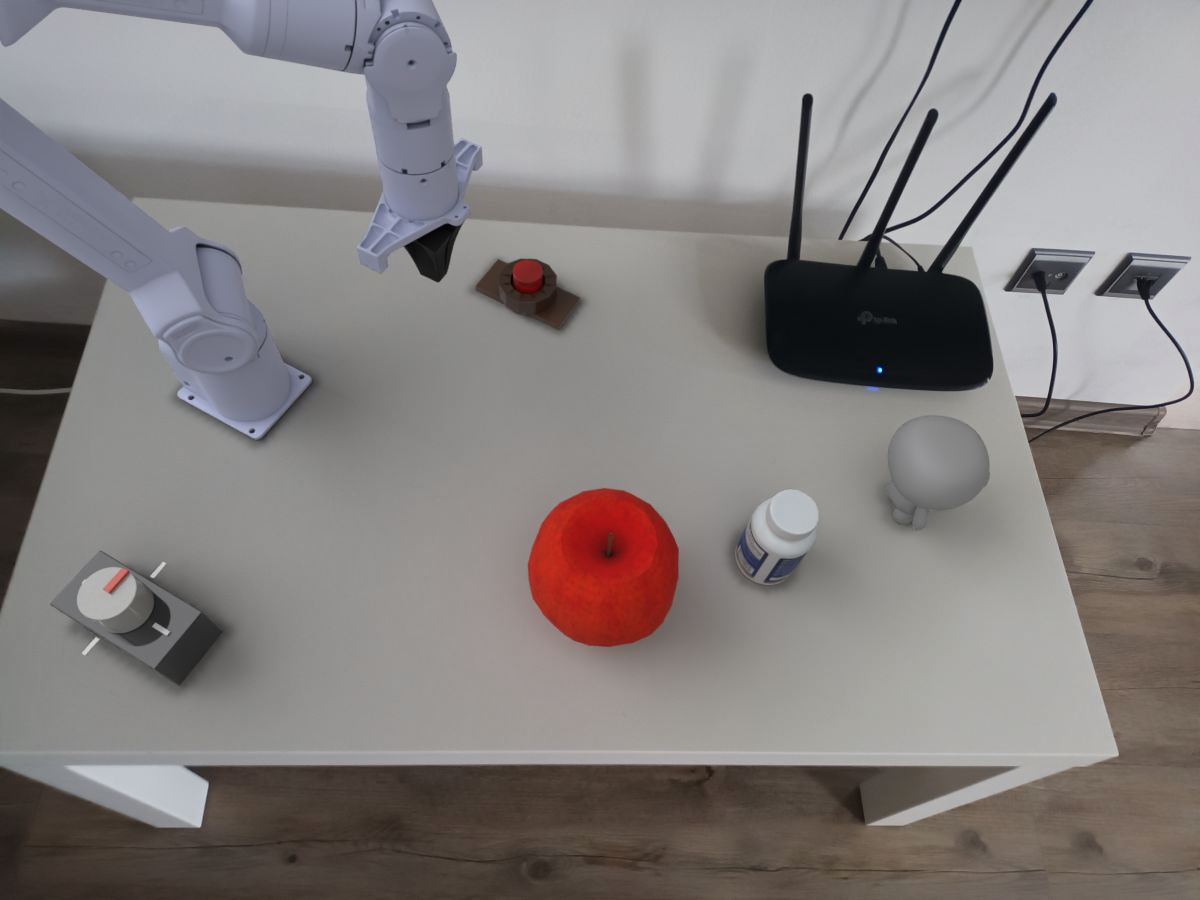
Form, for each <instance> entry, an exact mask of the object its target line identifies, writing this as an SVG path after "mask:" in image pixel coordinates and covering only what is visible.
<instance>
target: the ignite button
mask: <svg viewBox="0 0 1200 900" xmlns="http://www.w3.org/2000/svg"><path fill="white" fill-rule="evenodd" d="M542 282H543V270H542V267H541V266H540V265H539V264H538V263H537V262H535V261H532V260H523V261H520V262H518V263H517V264H516V265H515V266H514V268H513V285H514V287H515V288H516V289H517V290H518V291H519V292H521V293H525V294H531V293H535V292H537V291H538V290H539V289H540V288H541V287H542Z"/></svg>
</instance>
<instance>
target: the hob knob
mask: <svg viewBox="0 0 1200 900" xmlns="http://www.w3.org/2000/svg"><path fill="white" fill-rule="evenodd" d="M77 605H78V608H79V610H80V612H81V613H82V614H83V615H84V616H85V617H87V618H88V619H90V620H91V621H93V622H94V623H96V624H97V625H99V626H100V627H102V628H103V629H105V630H106V631H108V632H111V633H126V632H130V631H132V630H134V629H136V628H138V627H139V626H141V625H142V624H143V623H144V622H145V621H146V620H147V619H148V618H149V616H150V614H151V612H152V610H153V607H154V596H153V594H152V591H151V590H150V589H149V588H148V587H147V586H146V585H145V584H144V583H143V582H141V581H140V580H139V579H138V578H137V577H136V576H134V575H133V574H132V573H131V572H130V571H128V570H126V569H125V568H123V567H122V568H120V567H108V568H104V569H101V570H99V571H97V572H95V573H93V574H92V575H91V576H89V577H88V578H87V579H86V580H85V581H84V583H83V584H82V585H81V587H80V589H79V591H78V595H77Z"/></svg>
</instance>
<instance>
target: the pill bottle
mask: <svg viewBox="0 0 1200 900" xmlns="http://www.w3.org/2000/svg"><path fill="white" fill-rule="evenodd" d="M819 521H820V511H819V507H818V505H817V503H816V501H815V500H814V499H813V498H812V496H810V495H809V494H808V493H806V492H803V491H801V490H799V489H791V488H789V489H783V490H781V491H779V492H777V493H776V494H775V495H774V496H773V497H770V498H767V499H766V500H764V501H762V502H761V503H760V504H759V505H758V506H757V507H756V509H755V510H754V511H753V514H752V516H751V517H750V519H749V521H748V523H747V524H746V526H745V528H744V530H743V532H742V533H741V535H740V537H739V539H738V541H737V543H736V546H735V551H734V553H735V554H734V557H735V562H736V564H737V566H738V568H739V570H740V571H741V573H742V574H743V575H744V576H745V577H746V578H747V579H748V580H750V581H752V582H753V583H757V584H759V585H763V586H774V585H779V584H780V583H783V582H784V581H785V580H787V579H788V578H789V577H790V576H791V575H792V573H793V572H794V571H795V569H796V568H797V567H798V565H799V564H800V563H801V561H803V559H804V558H805V557H806V555H807V554H808V552H809V551H810V550H811V549H812V547H813V545H814V544H815V542H816V539H817V536H818V523H819Z"/></svg>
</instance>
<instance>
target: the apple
mask: <svg viewBox="0 0 1200 900" xmlns="http://www.w3.org/2000/svg"><path fill="white" fill-rule="evenodd" d="M679 549H680V548H679V546H678V544H677V540H676V538H675V536H674V535H673V532H672V530H671V529H670V527H669V524H668V523H667V521H666V520H665V519H664V518H663V517H662V515H660V513H659V512H658V511H657V510H656V509H655V508H654V506H653V505H652V504H651V503H649V502H647V501H645V500H644V499H642V498H640V497H638V496H636V495H635V494H633V493H630V492H628V491H626V490H623V489H616V488H608V487H601V488H594V489H589V490H588V489H587V490H582V491H580V492H579V493H577V494H575V495H572V496H571V497H568V498H566V499H564V500H562V501H560V502H559V503H557V505H556V506H555V507H553V509H552V510H551V511H550V512H549V513H548V514H547V516H546V517H545V519H543V521H542V522H541V524H540V526H539V528H538V531H537V534H536V537H535V539H534V542H533V544H532V546H531V550H530V554H529V558H528V561H527V574H528V583H529V589H530V594H531V596H532V597H531V598H532V600H533V601H534V603H535V605H536V606H537V608H538V609H539V611H540V612H541V613H542V615H543V616H544V617H545V618H546V619H547V620H548V621H549V622H550V623H551V624H552V625H553V626H554V627H555V628H556V629H557V630H558V631H560V632H561V633H562V634H563V635H564V636H566V637H567V638H569V639H571V640H572V641H573V642H576V643H580V644H583V645H586V646H590V647H591V646H592V647H604V648H611V647H617V646H622V645H629V644H634V643H637V642H638V641H641V640H643V639H646V638H647V637H649V636H651V635H653V634H654V633H655V632H656V631H657V630H658V629H659V627H661V626H662V624H664V622H665V620H666V618H667V617H668V613H669V612H670V610H671V608H672V606H673V602H674V597H675V593H676V590H677V587H678V582H679V577H680V576H679V575H680V574H679V571H680V569H679V565H680V563H679V561H680V559H679V557H680V552H679V551H680V550H679Z"/></svg>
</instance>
